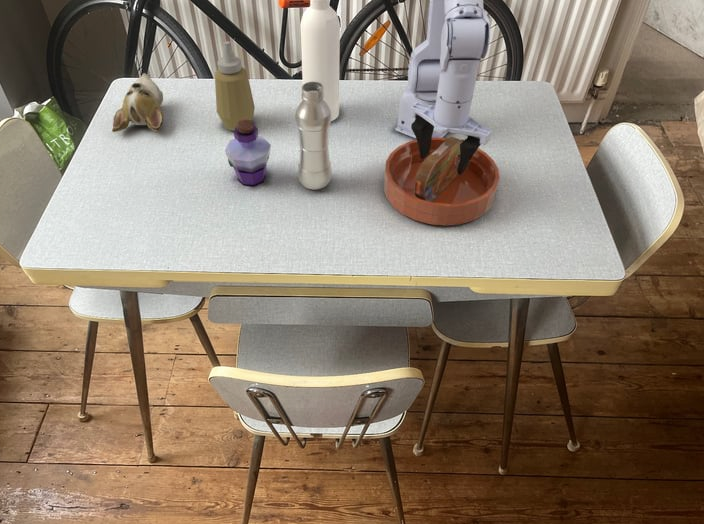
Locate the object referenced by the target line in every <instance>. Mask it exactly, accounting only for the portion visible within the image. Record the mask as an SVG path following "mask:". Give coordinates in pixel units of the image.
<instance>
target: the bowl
mask: <svg viewBox="0 0 704 524" xmlns="http://www.w3.org/2000/svg"><path fill="white" fill-rule="evenodd" d="M447 138H448V137H442V138H438V137H432V140H431V147H430V151H429V154H428V155H427V156H426V157H425V158H424V159H422V158H420V152H419V146H418V142H417V139H413V140H410V141H406V142H405V143H403V144H401V145H399V146H397V147H396V148H395V149H394V150H393V151H391V153H389V156H388V157H387V158H386V160H385V168H384V178H383V179H384V180H383V191H384V192H383V193H384V195H385V198H386V199H387V201H388V202H389V203H390V205H391V206H392V207H393V208H394V209H395V210H396V211H398V212H399V213H400V214H402V215H403V216H406V217H408V218H410V219H412V220H414V221H416V222H419V223H425V224H429V225H436V226H455V225H456V226H457V225H462V224H465V223H470V222H473V221H475V220H476V219H478V218H480V217H481V216H483V215H485V214H486V213H487V212H488V211H489V210H490V208H491V207H493V202H494V200H495V198H496V197H495V196H496V193H497V190H498V186H499V182H500V171H499V170H500V169H499V167H498V165H497V163H496V162H495V160H494V159H493V158H492V157H491V156H490V155H489V154H488V153H487V152H486V151H484V150H482V149H480V147H479V148H478V149H477V150H476V152H475V153H474V154H473V156H472V158H471V159H470V161H469V163H468V166H467V168H466V170H465V171H464V172H463V173H462V174H458V175H457V177H456V178H455V179H454V181H453V182H452V183H451V184H450V185H449V186H448V187H447V188H446V189H445V190H444V191H443V192H442V193H441V194H440V195H439V196H438V197H437V198H436V199H435V200H434V201H433V202H430V201H425V200H422V199H419V198H417V197H416V196H415V178H416V175H417V172H418V170H419V167H420V166H421V164H422V162H423V161H424V160H425V159H426V158H427V157H428V156H429V155H430V154H431V153H432V152H433V151H434V150H435V149H436V148H437V147H438V146H439V145H440V144H441V143H443V142H444V141H445V140H446V139H447Z"/></svg>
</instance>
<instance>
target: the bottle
mask: <svg viewBox="0 0 704 524" xmlns="http://www.w3.org/2000/svg"><path fill="white" fill-rule="evenodd" d="M309 2H310V5H309V6H308V7H307V8H306V9H305V10H304V11H303V13H302V15H301V19H300V24H299V25H300V49H301V50H300V51H301V53H300V54H301V76H302V85H303V84H305V83H307V82H312V81H315V82H319V83H321V84H322V85H323V93H324V98H323V100H324V101H325V102H326V104H327V105H328V107H329V108H330V111H331V114H332V115H331V122H334V121H335V120H337V118H338V117H339V115H340V51H341V50H340V49H341V46H340V45H341V24H340V20H339V16H338V13H337V11H335V9H333V7H332V6H330V0H309Z"/></svg>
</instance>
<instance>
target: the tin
mask: <svg viewBox="0 0 704 524" xmlns="http://www.w3.org/2000/svg"><path fill="white" fill-rule="evenodd" d="M446 138H447V139H446V140H445V141H444V142H443V143H441V144H440V145H439V146H438V147H437V148H436V149H435V150H434V151H433V152H432V153H431V154H430V155H429V156H428V157H427V158H426V159H425V160H424V161H423V162H422V164H421V166H420V167H419V170H418V172H417V175H416V178H415V196H416V197H417V198H419V199H422V200H425V201H430V202H433V201H434V200H435V199H436V198H437V197H438V196H439V195H440V194H441V193H442V192H443V191H444V190H445V189H446V188H447V187H448V186H449V185H450V184H451V183H452V182H453V181H454V179H455V178H456V177H457V175H458V173H457V170H458V165H459V161H460V144H461V143H462V142H463V141H464V140H465V139H460V138H457V137H454V136H449V137H446Z"/></svg>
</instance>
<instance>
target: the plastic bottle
mask: <svg viewBox="0 0 704 524" xmlns="http://www.w3.org/2000/svg"><path fill="white" fill-rule="evenodd" d="M323 98H324V93H323V85H322V84H321V83H319V82H315V81H312V82H307V83H305V84H303V83H302V86H301V102H300V103H299V104H298V106H297V107H296V110H295V114H294V120H295V126H296V130H297V135H298V144H299V162H298V167H297V176H298V179H299V182H300V184H301V185H302V186H303V187H304V188H306V189H308V190H313V191H314V190H315V191H317V190H322V189H324V188H325V187H326V186H328V184H329V183H330V182H331V181H332V180H331V179H332V176H333V168H332V162H331V159H330V149H329V144H330V132H331V124H332V121H331V115H332V114H331V111H330V108H329V107H328V105H327V104H326V102H325V101H324V100H323Z"/></svg>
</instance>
